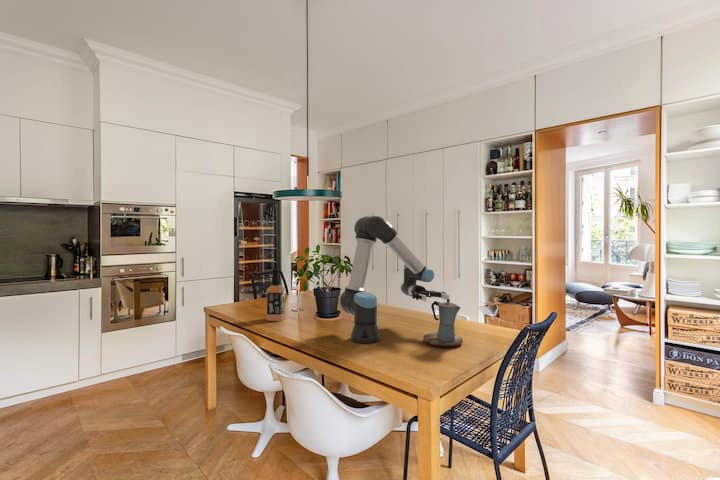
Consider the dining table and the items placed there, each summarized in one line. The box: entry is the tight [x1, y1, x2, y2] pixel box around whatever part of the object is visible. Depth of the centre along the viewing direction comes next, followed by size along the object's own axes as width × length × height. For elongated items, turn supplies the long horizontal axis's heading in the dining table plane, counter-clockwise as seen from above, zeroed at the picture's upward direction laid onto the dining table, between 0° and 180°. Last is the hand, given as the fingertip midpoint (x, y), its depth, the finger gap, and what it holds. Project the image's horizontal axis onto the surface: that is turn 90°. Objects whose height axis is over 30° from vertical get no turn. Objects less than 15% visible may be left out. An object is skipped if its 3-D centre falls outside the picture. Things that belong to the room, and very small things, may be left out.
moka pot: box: [431, 298, 462, 342], centre depth 183 cm, size 10×15×20 cm, turn 56°
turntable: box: [423, 331, 463, 347], centre depth 187 cm, size 19×19×1 cm
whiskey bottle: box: [265, 268, 286, 322], centre depth 235 cm, size 10×10×32 cm
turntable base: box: [430, 344, 457, 348], centre depth 187 cm, size 14×14×1 cm
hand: (437, 298), depth 193 cm, fingers open, 13 cm apart
